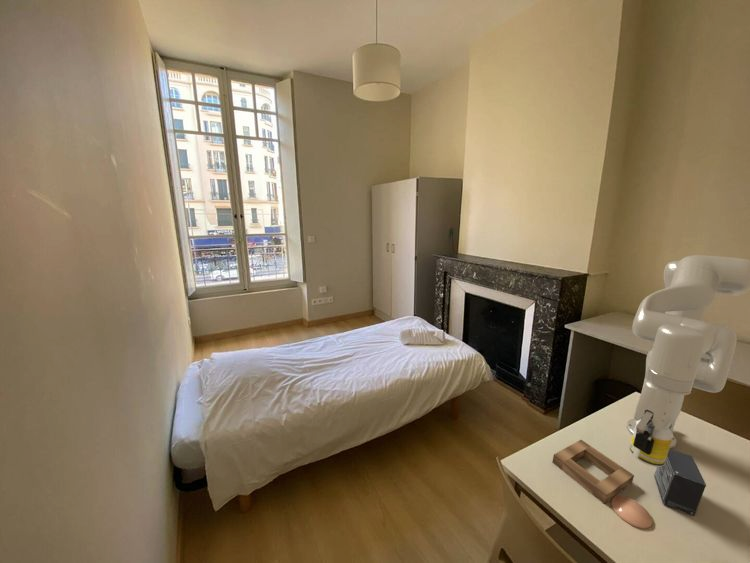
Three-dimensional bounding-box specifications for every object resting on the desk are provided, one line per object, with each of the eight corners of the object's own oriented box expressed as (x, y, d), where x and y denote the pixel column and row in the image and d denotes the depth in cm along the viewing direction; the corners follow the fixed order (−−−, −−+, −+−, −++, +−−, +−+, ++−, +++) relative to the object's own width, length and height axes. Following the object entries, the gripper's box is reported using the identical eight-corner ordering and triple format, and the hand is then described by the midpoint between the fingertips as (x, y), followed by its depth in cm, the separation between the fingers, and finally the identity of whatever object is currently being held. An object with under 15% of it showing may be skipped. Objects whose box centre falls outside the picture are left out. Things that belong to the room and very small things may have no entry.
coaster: (621, 492, 82) (622, 491, 82) (658, 519, 75) (658, 517, 75) (604, 505, 79) (605, 503, 79) (641, 534, 72) (641, 532, 72)
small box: (697, 518, 75) (708, 485, 73) (662, 505, 79) (672, 473, 76) (683, 485, 84) (693, 455, 81) (653, 474, 87) (661, 445, 85)
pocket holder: (579, 447, 97) (581, 439, 97) (631, 483, 85) (634, 475, 84) (552, 462, 92) (553, 454, 91) (604, 503, 79) (606, 495, 78)
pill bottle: (671, 471, 69) (685, 428, 66) (638, 465, 70) (651, 423, 67) (651, 449, 75) (664, 409, 72) (622, 444, 76) (633, 405, 73)
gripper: (666, 362, 74) (649, 422, 78) (627, 380, 66) (611, 446, 71) (709, 377, 67) (687, 443, 72) (671, 399, 60) (650, 470, 65)
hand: (649, 444), depth 71 cm, fingers closed on pill bottle, 6 cm apart
